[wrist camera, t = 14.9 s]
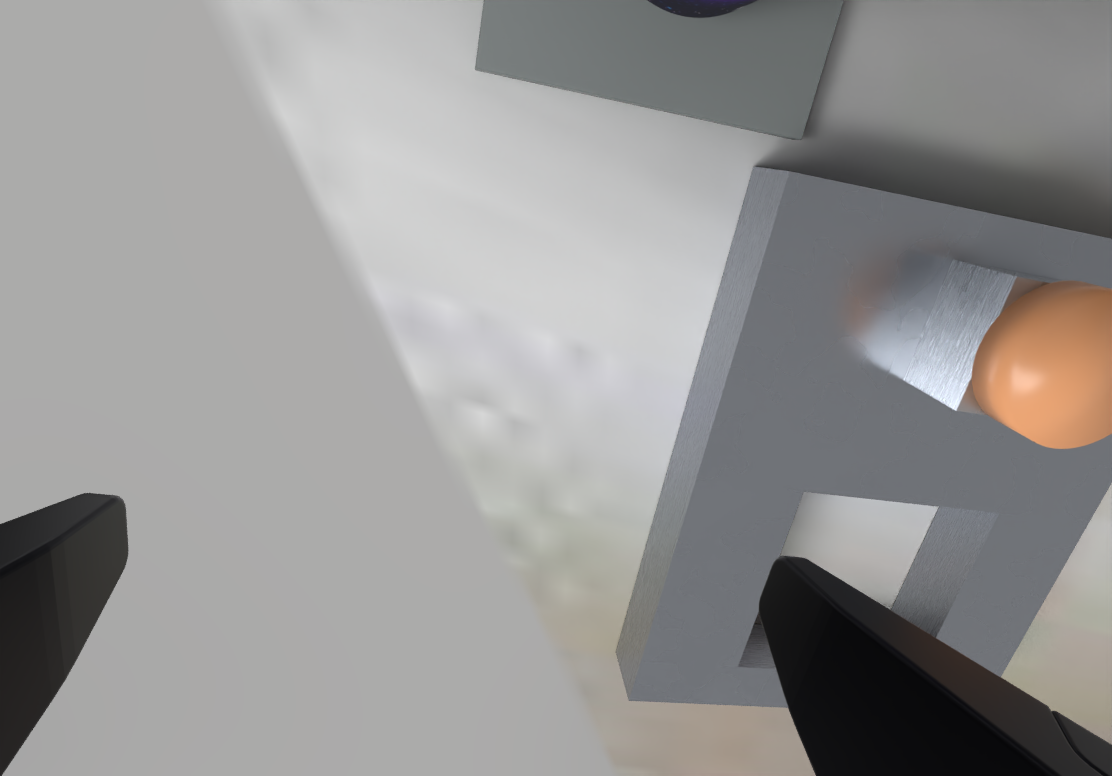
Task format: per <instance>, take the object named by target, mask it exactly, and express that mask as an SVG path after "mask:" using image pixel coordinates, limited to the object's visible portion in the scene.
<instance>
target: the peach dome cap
mask: <svg viewBox="0 0 1112 776" xmlns="http://www.w3.org/2000/svg"><path fill="white" fill-rule="evenodd" d="M972 387H973V392H974V395H975V398H976V400H977V402H978V404H979V406H980V407H981V409H982V410H983V411H984V412H985V413H986V414H987V415H988V416H989V417H991V418H993V419H994V420H996V421H998V422H1000V423H1001V424H1003V425H1005V426H1007V427H1008V428H1010V429H1012V430H1014V431H1016V432H1017V433H1019V434H1021V435H1023V436H1025V437H1026V438H1028V439H1030V440H1032V441H1034V442H1035V443H1037V444H1040V445H1042V446H1045V447H1049V448H1055V449H1069V448H1076V447H1081V446H1085V445H1088V444H1091V443H1094V442H1096V441H1099V440H1101V439H1103V438H1105V437H1107V436H1108V435H1110V434H1112V289H1110V288H1106V287H1102V286H1098V285H1094V284H1090V283H1086V282H1082V281H1074V280H1069V281H1058V282H1053V283H1050V284H1046V285H1043V286H1041V287H1038V288H1036V289H1034V290H1032V291H1030V292H1028V293H1027V294H1025V295H1023V296H1022V297H1020V298H1019V299H1017V300H1016V301H1015V302H1013V303H1012V304H1011V305H1010V306H1009V307H1007V308H1006V309H1005V310H1004V311H1003V312H1002V313H1001V314H1000V315H999V316H998V317H997V318H996V320H995V321H994V322H993V324H992V325H991V326H990V327H989V329H988V331H987V332H986V334H985V335H984V337H983V339H982V341H981V343H980V345H979V347H978V350H977V352H976V355H975V359H974V363H973V369H972Z"/></svg>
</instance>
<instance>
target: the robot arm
mask: <svg viewBox="0 0 1112 776" xmlns="http://www.w3.org/2000/svg"><path fill="white" fill-rule="evenodd" d="M127 557H128V537H127V519H126V507H125V503H124V501H123V499H121V498H120V497H119V496H115V495H105V494H93V493H84V494H80V495H78V496H75V497H72V498H70V499H67V500H64V501H61V502H59V503H56V504H53V505H51V506H48V507H45V508H43V509H40V510H37V511H34V512H32V513H29V514H27V515H24V516H21V517H18V518H16V519H13V520H10V521H8V522H5V523H2V524H0V776H2V774H3V772H4V771H5V770H6V769H7V767H8V765H9V764H10V763H11V761H12V760H13V758H14V756H15V755H16V754H17V752H18V751H19V749H20V748H21V746H22V745H23V743H24V742H25V740H26V739H27V737H28V736H29V734H30V732H31V731H32V730H33V728H34V727H35V725H36V724H37V722H38V721H39V719H40V718H41V716H42V715H43V713H44V712H45V710H46V709H47V707H48V706H49V704H50V703H51V701H52V700H53V698H54V697H55V695H56V694H57V692H58V690H59V689H60V687H61V686H62V684H63V683H64V681H65V680H66V678H67V676H68V674H69V672H70V670H71V669H72V667H73V665H74V663H75V662H76V660H77V658H78V656H79V654H80V652H81V650H82V648H83V647H84V644H85V642H86V641H87V639H88V637H89V635H90V633H91V631H92V629H93V627H94V626H95V624H96V622H97V620H98V618H99V616H100V614H101V612H102V610H103V608H104V606H105V605H106V603H107V600H108V599H109V597H110V595H111V593H112V591H113V589H114V587H115V586H116V584H117V582H118V580H119V578H120V576H121V574H122V572H123V570H124V568H125V565H126V562H127ZM759 615H760V619H761V622H762V626H763V629H764V632H765V635H766V639H767V642H768V645H769V648H770V652H771V655H772V658H773V661H774V665H775V668H776V671H777V674H778V678H779V681H780V684H781V687H782V691H783V694H784V697H785V700H786V703H787V706H788V708H789V711H790V714H791V717H792V719H793V722H794V724H795V727H796V729H797V732H798V734H799V736H800V739H801V741H802V744H803V746H804V748H805V751H806V753H807V756H808V758H809V760H810V763H811V765H812V768H813V770H814V772H815V775H816V776H1112V745H1111V744H1110V743H1108V742H1106V741H1105V740H1103V739H1101V738H1100V737H1098V736H1096V735H1095V734H1093V733H1091V732H1090V731H1088V730H1086V729H1085V728H1083V727H1081V726H1080V725H1078V724H1076V723H1075V722H1073V721H1072V720H1070V719H1068V718H1067V717H1065V716H1063V715H1062V714H1060V713H1058V712H1057V711H1051V710H1050V708H1049V707H1048V706H1047V705H1045V704H1043V703H1042V702H1040V701H1039V700H1037V699H1035V698H1034V697H1032V696H1030V695H1029V694H1027V693H1025V692H1024V691H1022V690H1021V689H1019V688H1017V687H1016V686H1014V685H1012V684H1011V683H1009V682H1007V681H1006V680H1004V679H1003V678H1001V677H999V676H998V675H996V674H994V673H993V672H991V671H989V670H988V669H986V668H984V667H983V666H981V665H980V664H978V663H976V662H975V661H973V660H971V659H970V658H968V657H966V656H965V655H963V654H962V653H960V652H958V651H957V650H955V649H953V648H952V647H950V646H948V645H947V644H945V643H944V642H942V641H940V640H939V639H937V638H935V637H934V636H932V635H930V634H929V633H927V632H925V631H924V630H922V629H921V628H919V627H917V626H916V625H914V624H912V623H911V622H909V621H907V620H906V619H904V618H903V617H901V616H899V615H898V614H896V613H894V612H893V611H891V610H889V609H888V608H886V607H885V606H883V605H881V604H880V603H878V602H876V601H875V600H873V599H871V598H870V597H868V596H866V595H865V594H863V593H862V592H860V591H858V590H857V589H855V588H853V587H852V586H850V585H848V584H847V583H845V582H844V581H842V580H840V579H839V578H837V577H835V576H834V575H832V574H830V573H829V572H827V571H826V570H824V569H822V568H821V567H819V566H817V565H816V564H814V563H812V562H811V561H809V560H807V559H805V558H801V557H790V556H780V557H778V558H776V560H775V561H774V562H773V564H772V567H771V569H770V572H769V575H768V577H767V580H766V583H765V585H764V588H763V591H762V593H761V596H760V600H759Z"/></svg>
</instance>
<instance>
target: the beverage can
mask: <svg viewBox="0 0 1112 776" xmlns="http://www.w3.org/2000/svg"><path fill="white" fill-rule="evenodd" d="M647 1H649V2H650V3H652V4H653V5H655V6H657V7H659V8H661V9H663V10H665V11H667V12H670V13H673V14H676V15H680V16H684V17H692V18H708V17H715V16H720V15H724V14H727V13H730V12H733V11H735V10H738V9H740V8H742V7H744V6H747V5H749V4H751V3H753V2H755V1H757V0H647Z"/></svg>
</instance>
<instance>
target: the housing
mask: <svg viewBox="0 0 1112 776" xmlns="http://www.w3.org/2000/svg"><path fill="white" fill-rule="evenodd" d="M1069 280H1074V281H1082V282H1086V283H1090V284H1094V285H1098V286H1102V287H1106V288H1110V289H1112V239H1111V238H1106V237H1101V236H1097V235H1092V234H1087V233H1082V232H1078V231H1073V230H1068V229H1063V228H1058V227H1054V226H1049V225H1044V224H1039V223H1035V222H1030V221H1025V220H1020V219H1015V218H1011V217H1006V216H1001V215H996V214H992V213H987V212H982V211H977V210H972V209H968V208H963V207H958V206H953V205H949V204H944V203H939V202H934V201H930V200H925V199H920V198H915V197H910V196H906V195H901V194H896V193H891V192H887V191H882V190H877V189H872V188H867V187H863V186H858V185H853V184H848V183H844V182H839V181H834V180H829V179H824V178H820V177H815V176H810V175H805V174H801V173H796V172H791V171H784V170H776V169H769V168H761V167H753V171H752V174H751V178H750V181H749V185H748V188H747V192H746V195H745V199H744V202H743V206H742V210H741V213H740V217H739V220H738V224H737V227H736V231H735V234H734V238H733V241H732V245H731V248H730V252H729V255H728V259H727V262H726V266H725V269H724V273H723V276H722V280H721V283H720V287H719V291H718V294H717V298H716V301H715V305H714V308H713V312H712V315H711V319H710V322H709V326H708V329H707V333H706V336H705V340H704V343H703V347H702V350H701V354H700V357H699V361H698V364H697V368H696V372H695V375H694V379H693V382H692V386H691V389H690V393H689V396H688V400H687V403H686V407H685V410H684V414H683V417H682V421H681V424H680V428H679V431H678V435H677V438H676V442H675V445H674V449H673V453H672V456H671V460H670V463H669V467H668V470H667V474H666V477H665V481H664V484H663V488H662V491H661V495H660V498H659V502H658V505H657V509H656V512H655V516H654V519H653V523H652V526H651V530H650V534H649V537H648V541H647V544H646V548H645V551H644V555H643V558H642V562H641V565H640V569H639V572H638V576H637V579H636V583H635V586H634V590H633V593H632V597H631V600H630V604H629V607H628V611H627V615H626V618H625V622H624V625H623V629H622V632H621V636H620V639H619V643H618V646H617V650H616V655H617V659H618V662H619V666H620V670H621V673H622V677H623V681H624V685H625V688H626V692H627V696H628V699H629V701H648V702H671V703H694V704H717V705H739V706H762V707H785V708H788V706H787V703H786V700H785V697H784V694H783V691H782V687H781V684H780V681H779V678H778V674H777V671H776V668H775V665H774V661H773V658H772V655H771V652H770V648H769V645H768V642H767V639H766V635H765V632H764V629H763V626H762V625H760V624H754V622H755V620H756V617H757V614H758V612H759V600H760V596H761V593H762V591H763V588H764V585H765V583H766V580H767V577H768V575H769V572H770V569H771V567H772V564H773V562H774V561H775V560H776V558H778V557H779V556H780V553H781V550H782V548H783V545H784V543H785V540H786V537H787V535H788V532H789V529H790V527H791V524H792V521H793V519H794V516H795V513H796V511H797V508H798V505H799V503H800V500H801V497H802V495H803V492H812V493H821V494H830V495H839V496H848V497H857V498H866V499H875V500H884V501H893V502H903V503H912V504H921V505H930V506H939V509H938V511H937V513H936V515H935V517H934V520H933V522H932V524H931V526H930V528H929V530H928V532H927V534H926V537H925V539H924V541H923V543H922V545H921V547H920V549H919V552H918V554H917V556H916V558H915V560H914V562H913V564H912V567H911V569H910V571H909V573H908V575H907V577H906V579H905V582H904V584H903V586H902V588H901V590H900V592H899V594H898V596H897V599H896V601H895V603H894V605H893V607H892V609H891V611H893V612H894V613H896V614H898V615H899V616H901V617H903V618H904V619H906V620H907V621H909V622H911V623H912V624H914V625H916V626H917V627H919V628H921V629H922V630H924V631H925V632H927V633H929V634H930V635H932V636H934V637H935V638H937V639H939V640H940V641H942V642H944V643H945V644H947V645H948V646H950V647H952V648H953V649H955V650H957V651H958V652H960V653H962V654H963V655H965V656H966V657H968V658H970V659H971V660H973V661H975V662H976V663H978V664H980V665H981V666H983V667H984V668H986V669H988V670H989V671H991V672H993V673H994V674H996V675H998V676H999V677H1001V676H1002V674H1003V672H1004V670H1005V669H1006V667H1007V665H1008V663H1009V662H1010V660H1011V658H1012V656H1013V655H1014V653H1015V651H1016V649H1017V648H1018V646H1019V644H1020V642H1021V641H1022V639H1023V637H1024V635H1025V634H1026V632H1027V630H1028V628H1029V627H1030V625H1031V623H1032V621H1033V620H1034V618H1035V616H1036V614H1037V613H1038V611H1039V609H1040V607H1041V605H1042V604H1043V602H1044V600H1045V598H1046V597H1047V595H1048V593H1049V591H1050V590H1051V588H1052V586H1053V584H1054V583H1055V581H1056V579H1057V577H1058V576H1059V574H1060V572H1061V570H1062V569H1063V567H1064V565H1065V563H1066V562H1067V560H1068V558H1069V556H1070V555H1071V553H1072V551H1073V549H1074V548H1075V546H1076V544H1077V542H1078V541H1079V539H1080V537H1081V535H1082V534H1083V532H1084V530H1085V528H1086V527H1087V525H1088V523H1089V521H1090V520H1091V518H1092V516H1093V514H1094V513H1095V511H1096V509H1097V507H1098V506H1099V504H1100V502H1101V500H1102V499H1103V497H1104V495H1105V493H1106V492H1107V490H1108V488H1109V486H1110V485H1111V483H1112V434H1110V435H1108V436H1107V437H1105V438H1103V439H1101V440H1099V441H1096V442H1094V443H1091V444H1088V445H1085V446H1081V447H1076V448H1069V449H1055V448H1049V447H1045V446H1042V445H1040V444H1037V443H1035V442H1034V441H1032V440H1030V439H1028V438H1026V437H1025V436H1023V435H1021V434H1019V433H1017V432H1016V431H1014V430H1012V429H1010V428H1008V427H1007V426H1005V425H1003V424H1001V423H1000V422H998V421H996V420H994V419H993V418H991V417H989V416H988V415H987V414H986V413H985V412H984V411H983V410H982V409H981V407H980V406H979V404H978V402H977V400H976V398H975V395H974V392H973V387H972V369H973V363H974V359H975V355H976V352H977V350H978V347H979V345H980V343H981V341H982V339H983V337H984V335H985V334H986V332H987V331H988V329H989V327H990V326H991V325H992V324H993V322H994V321H995V320H996V318H997V317H998V316H999V315H1000V314H1001V313H1002V312H1003V311H1004V310H1005V309H1006V308H1007V307H1009V306H1010V305H1011V304H1012V303H1013V302H1015V301H1016V300H1017V299H1019V298H1020V297H1022V296H1023V295H1025V294H1027V293H1028V292H1030V291H1032V290H1034V289H1036V288H1038V287H1041V286H1043V285H1046V284H1050V283H1053V282H1058V281H1069Z"/></svg>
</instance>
